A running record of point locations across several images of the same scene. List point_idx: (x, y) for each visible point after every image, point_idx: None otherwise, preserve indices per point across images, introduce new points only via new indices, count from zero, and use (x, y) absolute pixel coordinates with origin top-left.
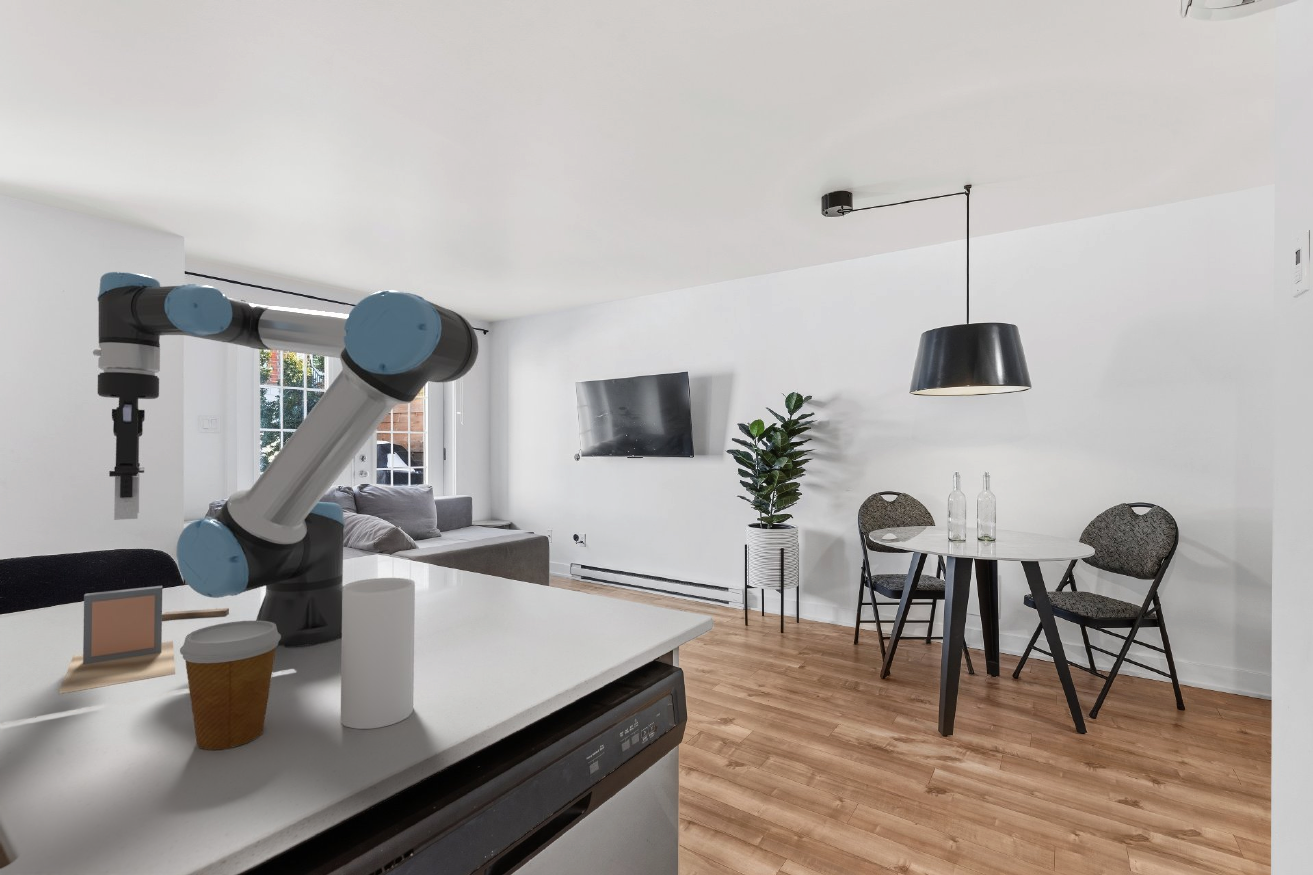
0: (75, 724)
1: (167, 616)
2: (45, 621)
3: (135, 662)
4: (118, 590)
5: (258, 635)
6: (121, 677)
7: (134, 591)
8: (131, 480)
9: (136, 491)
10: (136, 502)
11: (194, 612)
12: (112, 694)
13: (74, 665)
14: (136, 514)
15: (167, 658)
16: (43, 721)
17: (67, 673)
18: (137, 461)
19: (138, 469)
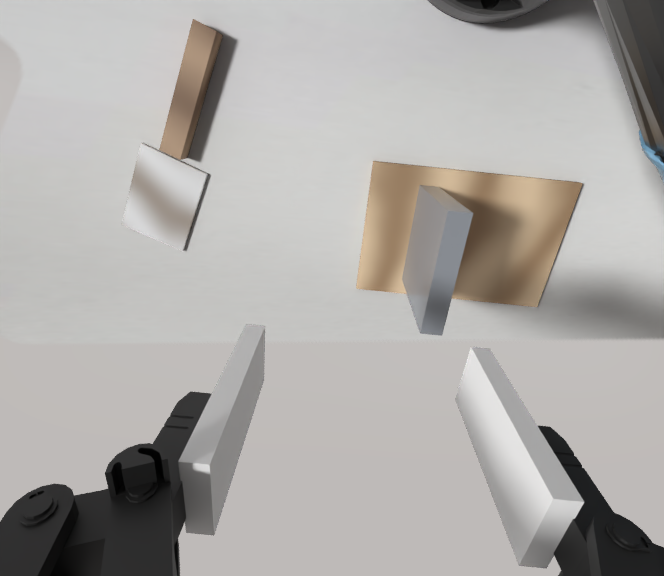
0: (654, 293)
1: (184, 149)
2: (74, 309)
3: None
4: (433, 286)
5: None
6: (531, 245)
7: (459, 261)
8: (603, 504)
9: (538, 432)
10: (515, 393)
11: (196, 99)
12: (576, 256)
13: None
14: (495, 360)
15: (483, 182)
16: (608, 317)
17: None
18: (172, 562)
19: (156, 488)
